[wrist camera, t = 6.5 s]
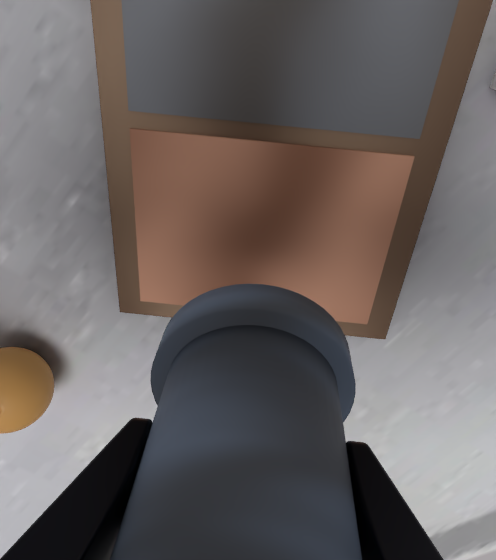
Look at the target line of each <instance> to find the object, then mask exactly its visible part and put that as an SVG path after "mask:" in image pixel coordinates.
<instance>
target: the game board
mask: <svg viewBox="0 0 496 560" xmlns="http://www.w3.org/2000/svg"><path fill="white" fill-rule="evenodd" d="M492 1H493V0H90V2H91V12H92V23H93V33H94V44H95V54H96V65H97V75H98V86H99V96H100V107H101V117H102V128H103V138H104V149H105V159H106V170H107V181H108V191H109V202H110V212H111V223H112V233H113V244H114V254H115V265H116V275H117V286H118V296H119V307H120V312H124V313H134V314H144V315H153V316H163V317H173V316H174V315H175V314H176V313H177V312H178V310H179V309H180V308H182V307H183V306H184V305H185V304H186V303H188V302H189V301H191V300H192V299H194V298H196V297H197V296H199V295H201V294H203V293H206V292H208V291H210V290H214V289H217V288H220V287H224V286H230V285H235V284H265V285H271V286H277V287H281V288H284V289H288V290H291V291H294V292H296V293H299V294H301V295H303V296H305V297H307V298H309V299H310V300H312V301H314V302H315V303H317V304H318V305H320V306H321V307H322V308H324V309H325V310H326V311H327V312H328V313H329V314H330V315H331V316H332V317H333V318H334V319H335V321H336V322H337V323H338V325H339V326H340V328H341V329H342V331H343V333H344V335H348V336H357V337H367V338H377V339H385V338H386V335H387V332H388V329H389V326H390V322H391V319H392V316H393V313H394V310H395V307H396V304H397V300H398V297H399V294H400V291H401V288H402V285H403V282H404V278H405V275H406V272H407V269H408V266H409V263H410V260H411V256H412V253H413V250H414V247H415V244H416V241H417V237H418V234H419V231H420V228H421V225H422V222H423V219H424V215H425V212H426V209H427V206H428V203H429V200H430V197H431V193H432V190H433V187H434V184H435V181H436V178H437V175H438V171H439V168H440V165H441V162H442V159H443V156H444V153H445V149H446V146H447V143H448V140H449V137H450V134H451V130H452V127H453V124H454V121H455V118H456V115H457V112H458V108H459V105H460V102H461V99H462V96H463V93H464V90H465V86H466V83H467V80H468V77H469V74H470V71H471V68H472V64H473V61H474V58H475V55H476V52H477V49H478V46H479V42H480V39H481V36H482V33H483V30H484V27H485V23H486V20H487V17H488V14H489V11H490V8H491V5H492Z"/></svg>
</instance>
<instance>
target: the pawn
mask: <svg viewBox="0 0 496 560" xmlns="http://www.w3.org/2000/svg"><path fill="white" fill-rule="evenodd" d="M151 387H152V392H153V395H154V398H155V401H156V403H157V405H158V407H157V411H156V414H155V417H154V420H153V423H152V426H151V430H150V433H149V436H148V439H147V442H146V446H145V449H144V452H143V455H142V458H141V462H140V465H139V468H138V471H137V474H136V478H135V481H134V484H133V487H132V490H131V493H130V497H129V500H128V503H127V506H126V509H125V513H124V516H123V519H122V522H121V525H120V529H119V532H118V535H117V538H116V541H115V544H114V548H113V551H112V554H111V557H110V560H362V554H361V547H360V540H359V533H358V526H357V519H356V512H355V505H354V498H353V491H352V484H351V477H350V470H349V463H348V455H347V448H346V441H345V434H344V427H343V422H344V421H345V419H346V418H347V416H348V414H349V413H350V411H351V408H352V405H353V403H354V398H355V379H354V373H353V368H352V363H351V357H350V352H349V347H348V343H347V340H346V337H345V335H344V333H343V331H342V329H341V328H340V326H339V325H338V323H337V322H336V321H335V319H334V318H333V317H332V316H331V315H330V314H329V313H328V312H327V311H326V310H325V309H324V308H322V307H321V306H320V305H318V304H317V303H315V302H314V301H312V300H310V299H309V298H307V297H305V296H303V295H301V294H299V293H296V292H294V291H291V290H288V289H284V288H281V287H277V286H271V285H265V284H235V285H230V286H224V287H220V288H217V289H214V290H210V291H208V292H206V293H203V294H201V295H199V296H197V297H196V298H194V299H192V300H191V301H189V302H188V303H186V304H185V305H184V306H183V307H182V308H180V309H179V310H178V312H177V313H176V314H175V315H174V316H173V317H172V319H171V320H170V322H169V323H168V325H167V327H166V329H165V332H164V334H163V337H162V340H161V342H160V345H159V348H158V351H157V353H156V356H155V359H154V362H153V365H152V370H151Z"/></svg>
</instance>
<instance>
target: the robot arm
mask: <svg viewBox="0 0 496 560" xmlns="http://www.w3.org/2000/svg"><path fill="white" fill-rule="evenodd" d="M151 426H152V421H151V420H150V419H143V418H133V419H131V420H130V421H129V422H128V423H127V424H126V425H125V426H124V427H123V428H122V429H121V430H120V431H119V433H118V434H117V435H116V436H115V437H114V438H113V439H112V440H111V441H110V442H109V443H108V444H107V445H106V446H105V447H104V449H103V450H102V451H101V452H100V453H99V454H98V455H97V456H96V457H95V458H94V459H93V460H92V461H91V462H90V464H89V465H88V466H87V467H86V468H85V469H84V470H83V471H82V472H81V473H80V474H79V475H78V476H77V477H76V478H75V480H74V481H73V482H72V483H71V484H70V485H69V486H68V487H67V488H66V489H65V490H64V491H63V492H62V493H61V495H60V496H59V497H58V498H57V499H56V500H55V501H54V502H53V503H52V504H51V505H50V506H49V507H48V508H47V509H46V511H45V512H44V513H43V514H42V515H41V516H40V517H39V518H38V519H37V520H36V521H35V522H34V523H33V524H32V525H31V527H30V528H29V529H28V530H27V531H26V532H25V533H24V534H23V535H22V536H21V537H20V538H19V539H18V540H17V542H16V543H15V544H14V545H13V546H12V547H11V548H10V549H9V550H8V551H7V552H6V553H5V554H4V555H3V556H2V558H1V559H0V560H110V557H111V554H112V551H113V548H114V544H115V541H116V538H117V535H118V532H119V529H120V525H121V522H122V519H123V516H124V513H125V509H126V506H127V503H128V500H129V497H130V493H131V490H132V487H133V484H134V481H135V478H136V474H137V471H138V468H139V465H140V462H141V458H142V455H143V452H144V449H145V446H146V442H147V439H148V436H149V433H150V430H151ZM346 448H347V455H348V463H349V470H350V477H351V484H352V491H353V498H354V505H355V512H356V519H357V526H358V533H359V540H360V547H361V554H362V560H443V558H442V557H441V555H440V553H439V552H438V550H437V549H436V547H435V546H434V544H433V543H432V541H431V540H430V538H429V537H428V535H427V534H426V532H425V531H424V529H423V528H422V526H421V525H420V523H419V522H418V520H417V519H416V517H415V516H414V514H413V512H412V511H411V509H410V508H409V506H408V505H407V503H406V502H405V500H404V499H403V497H402V496H401V494H400V493H399V491H398V490H397V488H396V487H395V485H394V484H393V482H392V481H391V479H390V478H389V476H388V474H387V473H386V471H385V470H384V468H383V467H382V465H381V464H380V462H379V461H378V459H377V458H376V456H375V455H374V453H373V452H372V450H371V449H370V447H369V446H368V445H367V444H366V443H363V442H354V441H348V442H347V443H346Z"/></svg>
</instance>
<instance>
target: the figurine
mask: <svg viewBox="0 0 496 560" xmlns="http://www.w3.org/2000/svg"><path fill="white" fill-rule="evenodd" d="M53 393H54V378H53V374H52V371H51V369H50V367H49V365H48V364H47V363H46V361H45V360H44V359H43V358H42V357H41V356H39V355H38V354H36V353H35V352H33V351H31V350H28V349H25V348H20V347H4V348H0V433H11V432H15V431H18V430H21V429H23V428H26V427H27V426H29V425H31V424H32V423H34V422H35V421H36V420H38V419H39V418H40V417H41V416H42V415H43V413H44V412H45V411H46V409H47V408H48V406H49V404H50V402H51V400H52V397H53Z"/></svg>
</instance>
